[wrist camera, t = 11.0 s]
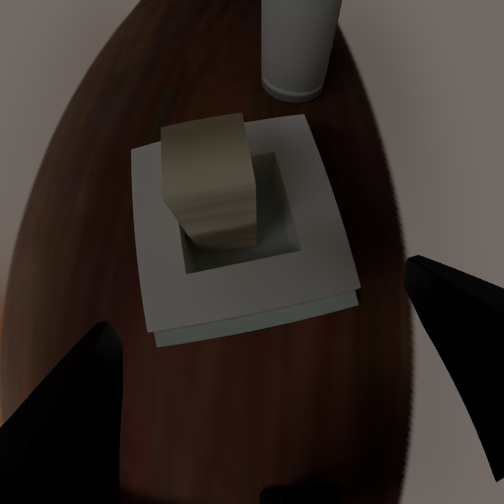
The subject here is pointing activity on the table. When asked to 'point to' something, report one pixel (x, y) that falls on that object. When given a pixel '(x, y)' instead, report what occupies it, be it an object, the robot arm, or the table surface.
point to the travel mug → (297, 46)
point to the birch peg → (210, 182)
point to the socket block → (250, 259)
